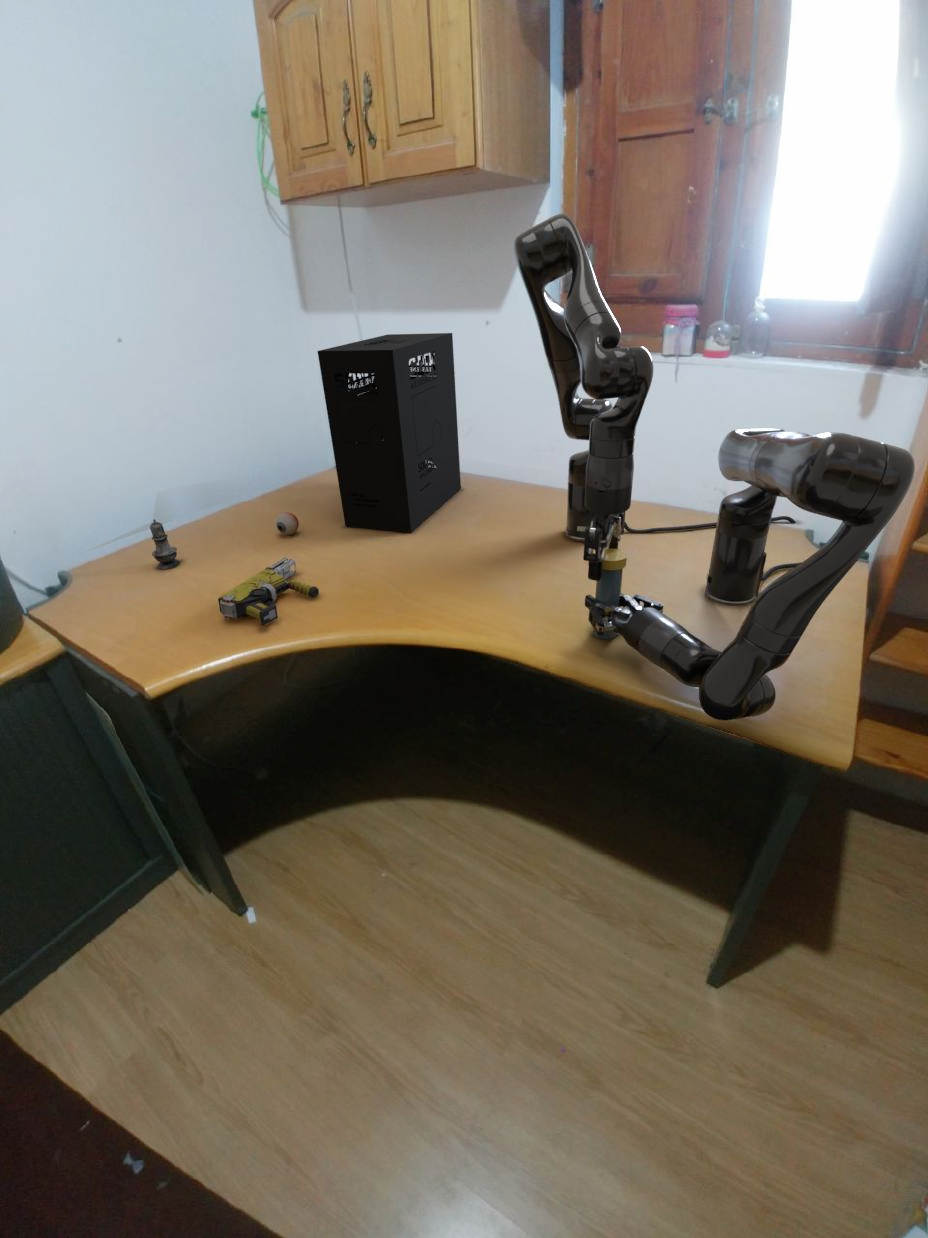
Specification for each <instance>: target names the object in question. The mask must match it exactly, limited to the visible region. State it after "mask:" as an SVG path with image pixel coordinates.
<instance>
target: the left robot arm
mask: <svg viewBox="0 0 928 1238" xmlns="http://www.w3.org/2000/svg"><path fill="white" fill-rule="evenodd" d="M513 241H514V242H513V253H514V258H515V262H516V267H517V269H518V272H519V274H520V277H521V280H522V283H523V286H524V288H525V291H526V294H527V297H528V299H529V302H530V305H531V308H532V312H533V314H534V317H535V320H536V323H537V328H538V330H539V336H540V340H541V343H542V348H543V352H544V355H545V358H546V361H547V366H548V368H549V371H550V374H551V377H552V380H553V384H554V387H555V391H556V392H555V393H556V397H557V399H558V406H559V412H560V418H561V422H562V423H561V424H562V428H563V431H564V433H565V435H566V436H567V437H568V438H569V439H572V440H575V441H576V440H577V441H588V449H587V450H584V451H580V452H576V453H574V454H572V455H571V456H570V457H569V459H568V468H567V469H568V473H567V501H566V502H567V503H566V527H565V536H566V537H567V538H568V539H570V540H572V541H576V542H583V556H582V560H583V561H584V562H588V567H587V568H588V569H587V579H588V580H591V581H594V582H596V581H600V579H601V578H602V566H603V557H604V553H605V550H606V549H608V548H612V549H619V542H621V539H622V537H621V536H623V535H624V533H625V531H627V532H629V533H631V534H650V533H657V532H673V531H674V532H675V531H685V530H686V531H687V530H697V529H704V528H712V527H713V528H714V527H716V526H717V521H716V522H707V523H700V524H699V523H698V524H691V525H679V526H678V525H677V526H664V527H651V528H645V529H633V528H631V527H629V526H628V524H627V522H626V512H627V511H628V510H629V509H630V508H631V504H632V494H633V485H634V484H633V481H634V473H635V459H634V455H635V454H634V452H635V443H636V430H637V426H638V423H639V420H640V417H641V413H642V411H643V408H644V405H645V402H646V399H647V397H648V394H649V393H650V392H649V391H650V389H651V386H652V382H653V379H654V361H653V357H652V355H651V353H650V352H649V350H648V349H647V348H646V347H644V346H642V345H629V346H628V345H626V346H620V343H621V340H622V330H621V327H620V324H619V322H618V321H617V319H616V317H615V316H614V314H613V312H612V310H611V307H609V305H608V303H607V302H606V300H605V297H604V295H603V294H602V291H601V289H600V286H599V282H598V280H597V276H596V274H595V271H594V267H593V265H592V262H591V260H590V257H589V255H588V252H587V249H586V247H585V243H584V241H583V238H582V236H581V234H580V231H579V229H578V227H577V225H576V223H575V221H574V220H573V219H572V218H571V216H569V214H567V213H564V212H563V213H562V212H561V213H558V214H554V215H553V216H550V217H549V218H547V219H545V220H543V221H541V222H540V223H538V224H535V225H534V226H532V227H530V228H528V229H526V230H524V231H523V232H521V233H520V234H518V235H517V236H516V237H515V239H514V240H513ZM568 275H571V280H570V284H569V287H568V291H567V293H566V297H565V300H564V301H565V302H564V306H563V305H561V304H560V303H559V302H557V301H556V300H555V299H554V298H553V297H552V296H551V295H550V294H549V293H548V292H547V290H546V287H547V286H549V285H551V284H554V282H558V281H559V280H561V279H563V278H565V277H566V276H568ZM580 386H581V388H582V390H583V392H584V393H585V394H586V395H587V396H588V397H590V398H583V397H580V396H579V394H578V391H579V387H580ZM609 399H617V400H616V402H615V403H614V405H613V404H612V402H611V401H610V400H609ZM777 521H788V522H789V523H791V524H796V521H795V519H794V518H792V517H790V516H788V515H780V516H774V517H773V516H772V517H771V522H777Z"/></svg>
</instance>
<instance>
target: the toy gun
mask: <svg viewBox="0 0 928 1238" xmlns="http://www.w3.org/2000/svg"><path fill="white" fill-rule="evenodd" d="M296 563H297V562H296V560H295V559H294V558H288V557H283V558H282V559H281V560H278V561H277V562H276V563H273V564H272V565H271V566H270V567H269V566H266V567H265V568H264V569H263V570H261V571H259V572H258V573H255V575H253V576H251V577H250V578H248V579H246V580H245V581H243V582H241V583H240V584H238V585H236V586H234V587H233V588H232V589H230V590H228V591H227V592H225V593H224V594H222V595H220V596H219V597H217V603H218V609H219V612H220V614H221V615H222V616H224V619H226V620H227V619H229V620H230V621H231V620H233V619H235V620H241V619H246V618H249V617H253V618H255V619H257V620H258V621H260V626H262V627H265V626H266V625H268V624H270V623H272V622H274V621H275V620H277V619H278V618H279V617H278V608H277V605H276V604H275V602H276V601H277V596H278V595H280V594H282V593H285V592H286V591H288V590H292V591H294V592H297V593H299V594H303V595H305V596H308V597H310V598H311V599H314V598H316V597H318V596H319V595H320V590H319V588H318V586H316V585H315V586H314V585H310V584H308V583H307V584H306V583H305V582H302V581H298V580H297V579H291V580H290V581H289V582H288V581H287V579H288V578H289V579H290V577H292V576H293V575H295V574H296V573H297V566H296V565H297V564H296ZM293 566H294V570H292V569H291V568H292V567H293Z"/></svg>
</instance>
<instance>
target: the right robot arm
mask: <svg viewBox="0 0 928 1238" xmlns="http://www.w3.org/2000/svg"><path fill="white" fill-rule="evenodd" d="M717 462H718V468H719V472H720V474H721V476H723V478H724V479H726V480H727V481H731V482H744V483H746V484H749V485H750V486H748V487H747V488H744V489H741V490H740V491H737V492H734V493H731V494H728V495H726V496H725V497H723V498H722V499H721V501H720V504H719V507H718V508H719V509H718V515H717V519H716V520H717V521H716V522H717V526H715V534H714V539H713V544H712V551H711V556H710V562H709V563H710V564H709V568H708V571H707V572H706V586H705V588H704V594H705V596H706V597H707V598H708V599H709V600H711V601H713V602H714V603H717V604H720V605H724V606H730V607H731V606H732V607H740V606H741V607H742V606H746V605H747V606H748V605H750V604H751V606H750V607H749V610H748V612H747V614H746V616H745V617H744V619H743V621H742V623H741V625H740V627H739V629H738V631H737V633H736V636H735V637H734V638H733V640H732V641H730V642H729V644H727V646H726V647H724V648H723V650H721V651H720V650H717V649H715V648H713V647H712V646H709V645H708V644H707V643H706V642H705V641H703V640H701V639H700V638H698V637H697V636H696V635H694V634H692V633H691V632H690V631H688V630H687V629H686V628H685V627H684V626H683V625H681V624H680V623H678V622H677V621H675V620H674V619H672V618H670V617H669V616H667V615H666V614H665V613H664V603H662V602H659V601H656V600H654V599H652V598H649V597H646V596H644V595H641V594H638V593H636V594H634V595H633V596H631V595H629V594H624V593H622V592H621V596H620V607H619V608H618V607H616V606H613V605H609V606H607V605H604V604H602V603H601V602H600V601H598V600H597V599H596V598H595V596H593V595H591V594H586V595H585V598H584V607H585V608H587V609H588V620H587V621H588V622H589V624H590V625H591V627H592V628H594V630H595V631H596V633H597V634H598V635H604V631H609V630H613V631H614V632H615V633H617V635H621V636H622V638H623V639H624V641H625V643H626V644H627V645H628V646H629V647H630V648H632V649H633V650H634V651H636V652H637V653H638V654H640V655H641V656H642V657H644V658H645V659H647V660H648V661H649V662H650V663H652V664H653V665H655V666H656V667H658V668H660V669H662V670H664V671H665V672H666V673H668V674H669V675H670V676H671V677H673V678H674V679H675V680H677V681H678V682H680V683H681V684H683V685H685V686H687V687H689V688H698V691H697V692H698V693H697V696H698V703H699V704H700V707H701V709H702V711H703V712H704V713H705V714H706V716H709V717H710V718H711V719H714V720H717V721H725V722H727V721H734V720H739V719H746V718H753V717H754V718H755V717H759V716H761V715H764V714H766V713H767V712H769V711H770V710H771V709H772V708H773V707H774V704H775V702H776V697H777V692H776V689H775V685H774V683H773V681H772V680H771V678H770V677H769V676H768V674H767V673H770V672H772V671H774V670H777V669H779V668H781V667H783V666H784V665H785V663H787V661H788V660H789V658H790V657H791V655H792V654H793V651H794V650H795V648H796V647H797V645H798V643H799V642H800V640H801V638H802V637H803V635H804V633H805V631H806V629H807V628H808V626H809V624H810V623H811V621H812V619H813V618H814V616H815V615H816V613H817V612H818V610H819V609H820V607H821V606H822V604H824V602H825V600H826V599H827V598H828V597H829V596H830V594H831V593H832V592H833V590H834V589H835V588H836V586H838V584H839V583H840V582H841V581H842V580H843V579H844V577H845V576H846V575H847V574H848V572H849V571H850V570H851V569H852V568H853V567H854V565H855V564H857V562H858V560H859V559H860V558H861V557H862V556H863V554H864V553H865V552H866V550H867V549H868V548H869V547H870V545H871V544H872V543H873V542H874V540H875V539H876V538H877V537H878V536H879V534H880V533H881V532H882V530H884V528H885V527H886V526H887V524H888V523H889V522H890V520H891V519H892V517H894V515H895V513H896V512H897V511H898V509H899V508H900V507H901V505H902V503H903V502H904V500H905V498H906V497H907V494H908V493H909V491H910V489H911V485H912V484H913V481H914V477H915V472H916V462H915V459H914V457H913V454H912V453H910V451H909V450H907V449H905V448H903V447H900V446H896V445H892V444H889V443H884V442H880V441H877V440H872V439H870V438H864V437H861V436H857V435H853V434H849V433H845V432H835V431H834V432H832V431H830V432H829V431H828V432H822V433H817V434H812V435H811V434H809V433H805V432H801V431H792V430H791V431H789V430H785V429H783V428H778V427H777V428H775V427H774V428H770V427H767V428H737V429H734V430H731V431H729V432H728V433H727V434H726V435H725V437H724V438H723V440H722V441H721V443H720V446H719V449H718V455H717ZM778 497H779V498H786V499H787V500H789V502H791V503H792V504H794V505H795V506H796V507H798V508H799V509H801V510H803V511H806V512H808V513H810V514H811V513H812V514H815V515H819V516H823V517H826V518H830V519H833V520H837V521H841V523H840V524H839V526H838V527H837V529H836V531H835V532H834V533H833V534H832V536H831V537H830V538H829V539H828V540H827V542H826V543H824V545H822V546H821V547H820V548H819V549H818V550H817V551H816V552H814V553H813V554H812V555H810V556H809V557H807V558H806V559H805V560H803V561H801V562H793V563H783V564H778V565H775V566H773V567H770V568H769V569H768V570H767V571H766V572H765V573H764V570H765V565H766V561H767V552H766V551H765V549H766V545H767V540H768V537H769V536H768V535H769V530H770V526H771V522H772V521H771V518H773V512H774V509H775V507H776V503H777V499H778ZM784 569H785V570H786V569H789V570H787V571H786V572H785V573H783V574H781V575H780V576H779V577H777V578H776V579H774V580H772V582H770V583H769V584H768V585H767V586H766V587H765V588H763V589H762V590H761V591H760V587H761V583H762V582H763V581H766V580H767V579H768V578H769V577H770V575H772V574H773V573H775V572H777V571H779V570H784ZM759 592H760V593H759ZM641 603H643V605H642V604H641ZM602 610H603V611H605V614H602ZM612 612H613V614H612Z"/></svg>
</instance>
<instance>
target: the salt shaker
mask: <svg viewBox="0 0 928 1238" xmlns="http://www.w3.org/2000/svg"><path fill="white" fill-rule="evenodd" d="M149 529H150V532H151V536H152V537H151V540H152V541H153V542H154V546H155V550H153V551H152V552H151V556H152V557H153V559H155V561H157V562H158V564H157V567H156V568H158V569H160V570H167V569H168V570H169V569H172V568H175V567H177V566H178V565H180V563H181V562H180V560H179V559H176V557H177V556H178V554H177V553H178V552H177V551H178V548H177V547H175V546H171V544H170V543H169V540H168V534H166V531H165V528H164V525H163V523H161V522H158V521H157V520H156V519H153V520H152V523H150V525H149Z"/></svg>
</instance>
